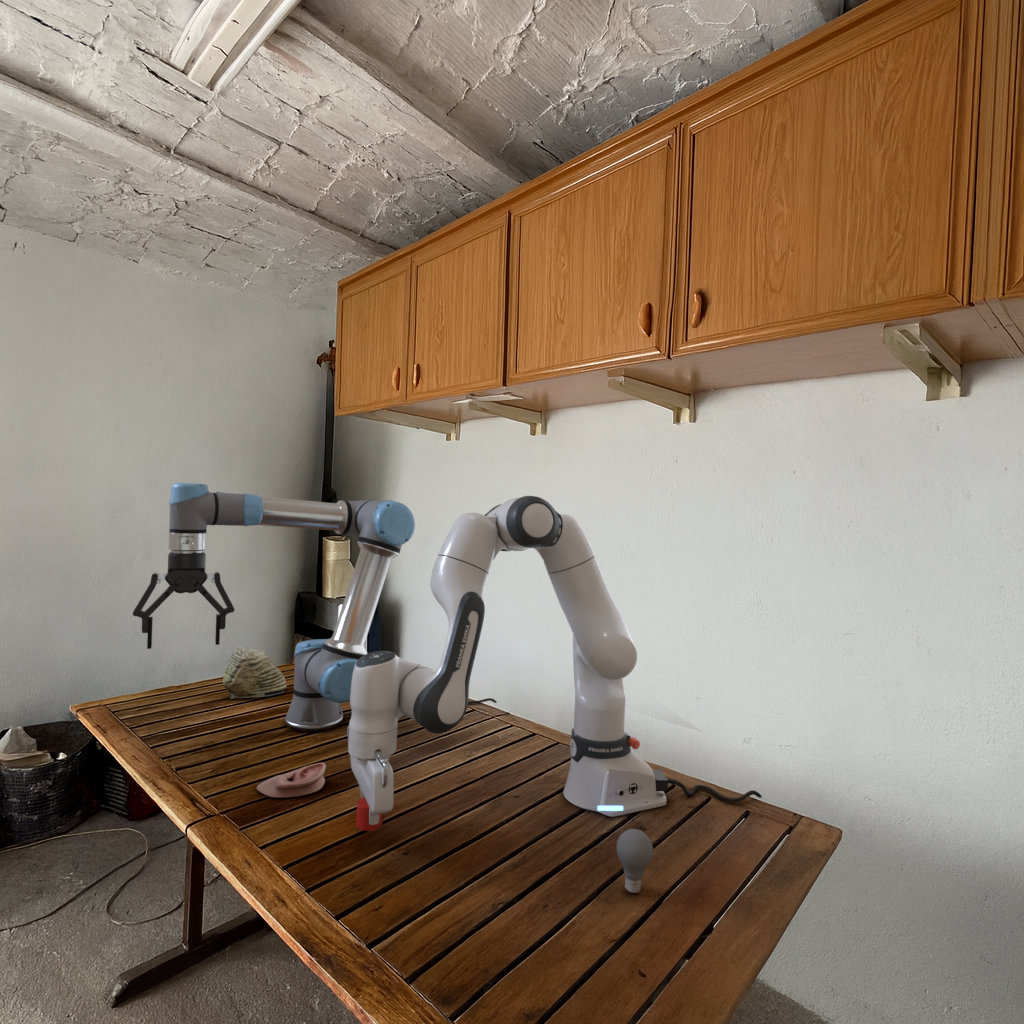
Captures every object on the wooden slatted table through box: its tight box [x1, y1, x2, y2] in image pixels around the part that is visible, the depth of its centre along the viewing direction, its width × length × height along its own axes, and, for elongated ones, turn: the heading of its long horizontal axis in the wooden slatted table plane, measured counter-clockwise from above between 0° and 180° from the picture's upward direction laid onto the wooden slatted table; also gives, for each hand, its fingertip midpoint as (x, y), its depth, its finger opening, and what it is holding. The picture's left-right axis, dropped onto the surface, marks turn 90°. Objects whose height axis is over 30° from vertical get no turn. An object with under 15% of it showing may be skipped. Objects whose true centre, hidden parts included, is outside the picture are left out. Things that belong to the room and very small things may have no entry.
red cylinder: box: [355, 797, 384, 832], centre depth 118 cm, size 5×5×4 cm
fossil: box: [222, 646, 288, 699], centre depth 198 cm, size 9×18×15 cm, turn 132°
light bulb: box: [615, 828, 654, 894], centre depth 106 cm, size 6×6×10 cm
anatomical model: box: [256, 762, 327, 799], centre depth 137 cm, size 13×4×12 cm
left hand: (184, 645), depth 143 cm, fingers open, 13 cm apart
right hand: (369, 814), depth 118 cm, fingers closed on red cylinder, 5 cm apart
